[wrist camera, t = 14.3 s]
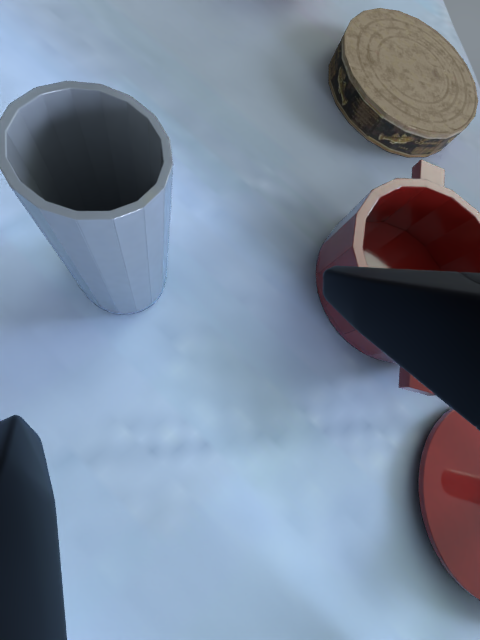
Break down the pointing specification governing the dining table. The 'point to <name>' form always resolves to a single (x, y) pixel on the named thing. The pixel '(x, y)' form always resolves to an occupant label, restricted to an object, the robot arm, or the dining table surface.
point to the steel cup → (94, 186)
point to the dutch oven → (402, 242)
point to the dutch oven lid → (453, 497)
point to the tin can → (401, 83)
